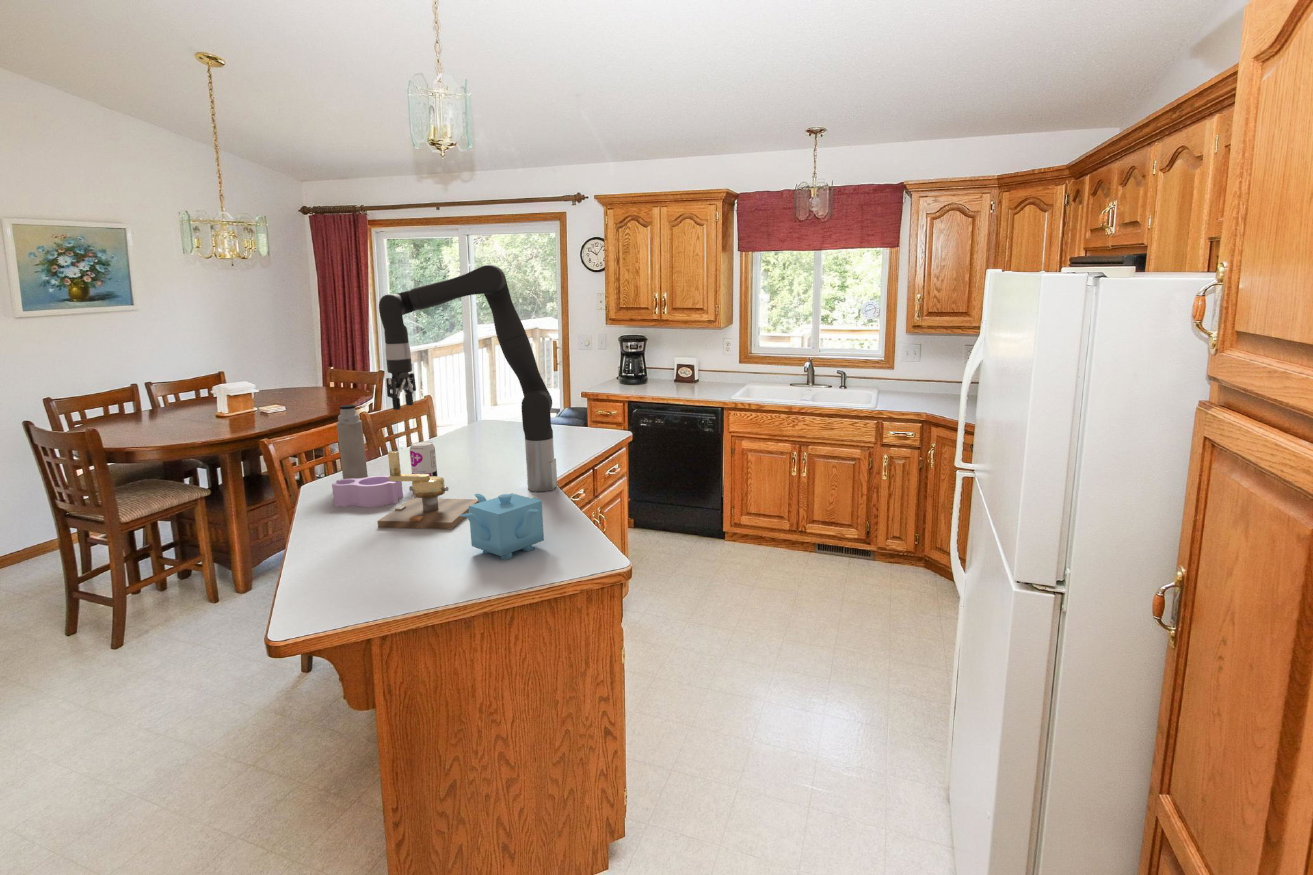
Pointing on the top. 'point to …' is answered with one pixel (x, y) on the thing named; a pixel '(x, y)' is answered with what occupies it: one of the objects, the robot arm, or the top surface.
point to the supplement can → (423, 458)
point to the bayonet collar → (416, 479)
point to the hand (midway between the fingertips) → (403, 407)
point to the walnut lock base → (427, 513)
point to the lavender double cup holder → (367, 491)
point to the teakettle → (505, 524)
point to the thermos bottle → (351, 443)
